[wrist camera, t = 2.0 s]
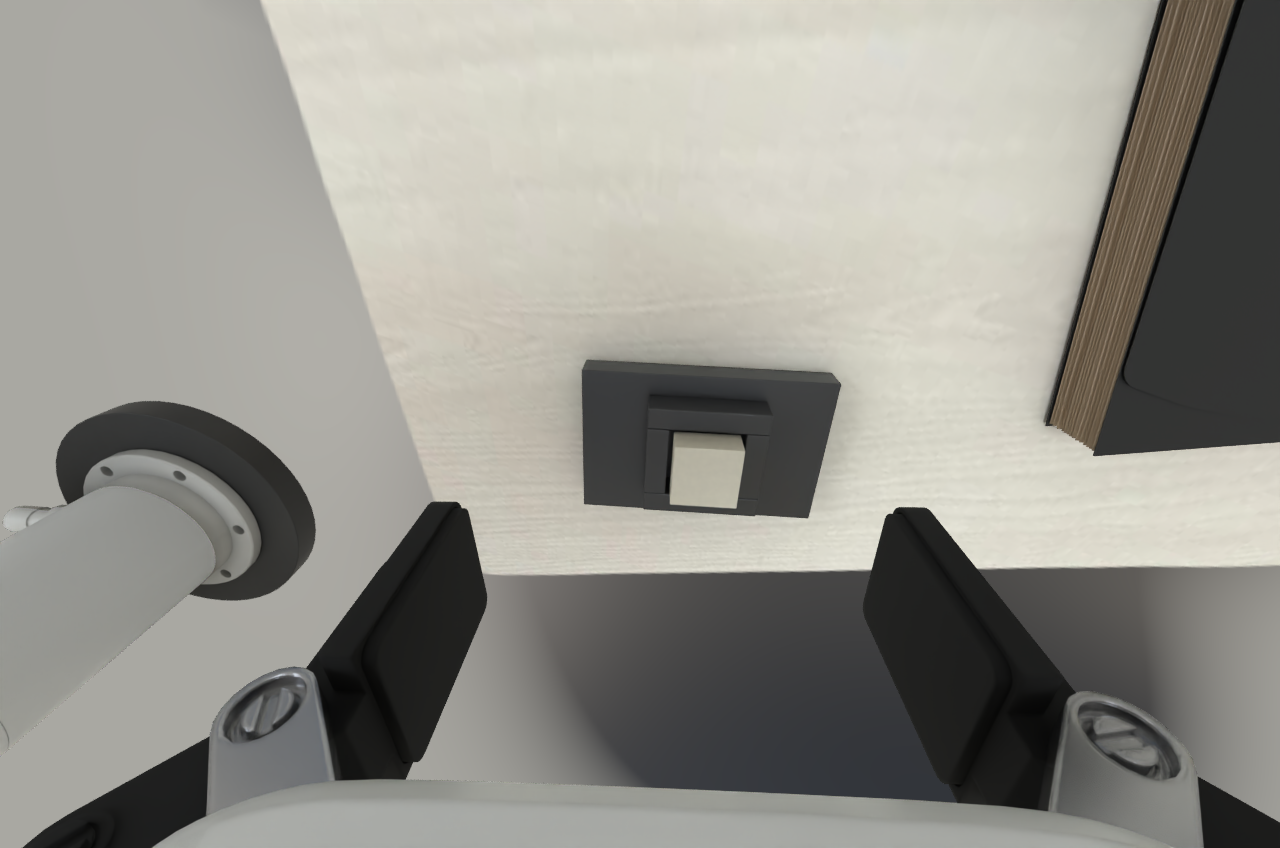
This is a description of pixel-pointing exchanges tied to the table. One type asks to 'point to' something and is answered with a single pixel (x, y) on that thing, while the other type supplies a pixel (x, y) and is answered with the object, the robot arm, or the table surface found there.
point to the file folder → (1187, 248)
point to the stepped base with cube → (704, 403)
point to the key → (706, 469)
